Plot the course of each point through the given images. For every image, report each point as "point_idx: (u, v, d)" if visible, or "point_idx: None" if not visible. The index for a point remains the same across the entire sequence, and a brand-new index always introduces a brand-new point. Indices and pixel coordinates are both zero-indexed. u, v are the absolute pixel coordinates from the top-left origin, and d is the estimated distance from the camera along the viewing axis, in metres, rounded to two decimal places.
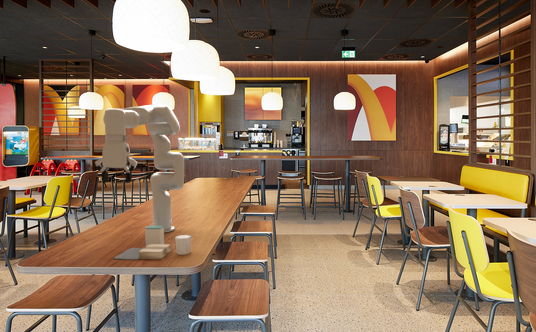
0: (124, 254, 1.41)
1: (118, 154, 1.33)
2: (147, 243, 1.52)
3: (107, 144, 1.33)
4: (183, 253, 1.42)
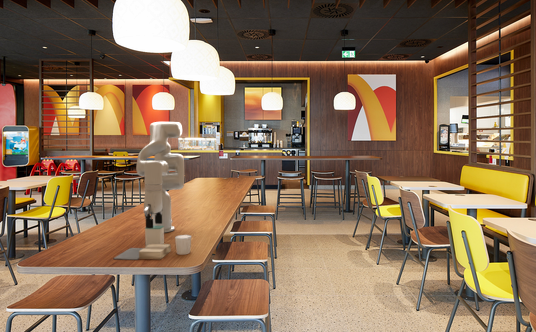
0: (124, 254, 1.41)
1: (160, 200, 1.55)
2: (147, 243, 1.52)
3: (156, 192, 1.50)
4: (183, 253, 1.42)
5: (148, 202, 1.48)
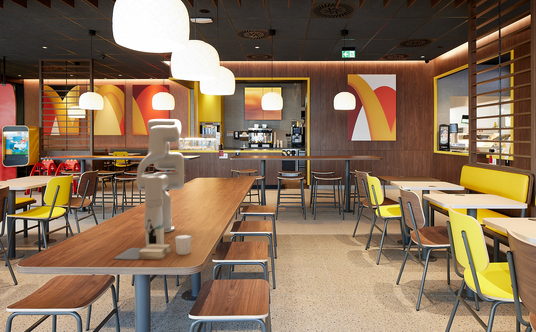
0: (124, 254, 1.41)
1: (161, 214, 1.56)
2: (147, 243, 1.52)
3: (157, 207, 1.51)
4: (183, 253, 1.42)
5: (148, 217, 1.49)
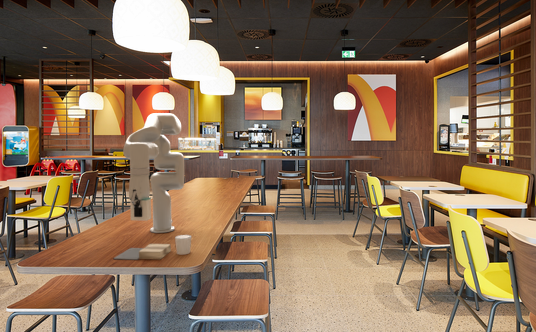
0: (124, 254, 1.41)
1: (148, 185, 1.43)
2: (132, 216, 1.40)
3: (143, 177, 1.38)
4: (183, 253, 1.42)
5: (133, 187, 1.36)
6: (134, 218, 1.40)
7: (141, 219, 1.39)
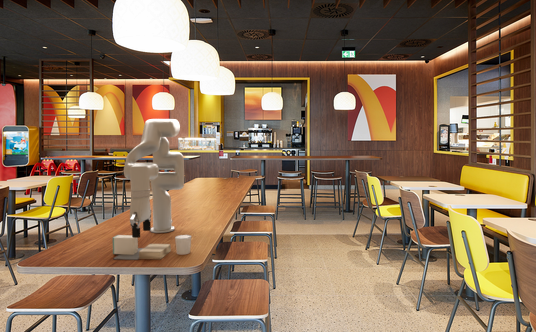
0: (124, 254, 1.41)
1: (148, 206, 1.44)
2: (129, 252, 1.41)
3: (143, 199, 1.39)
4: (183, 253, 1.42)
5: (134, 210, 1.37)
6: (131, 250, 1.41)
7: (132, 243, 1.41)
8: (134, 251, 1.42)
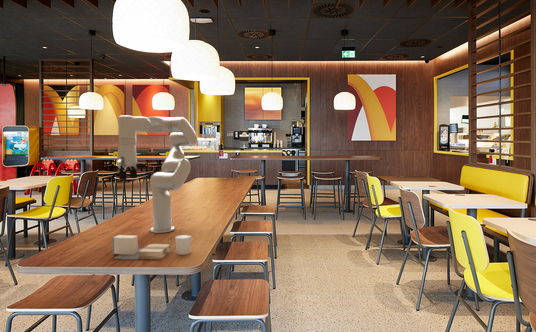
0: (124, 254, 1.41)
1: (135, 154, 1.59)
2: (129, 252, 1.41)
3: (130, 146, 1.54)
4: (183, 253, 1.42)
5: (121, 155, 1.52)
6: (131, 250, 1.41)
7: (132, 243, 1.41)
8: (134, 251, 1.42)
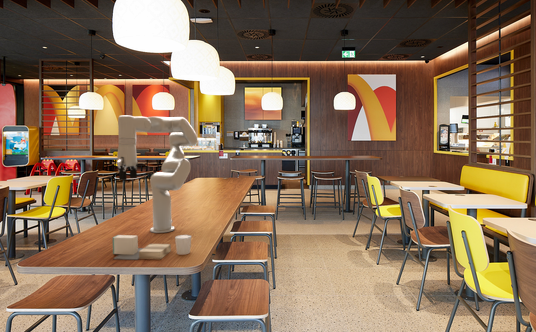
0: (124, 254, 1.41)
1: (135, 154, 1.59)
2: (129, 252, 1.41)
3: (130, 146, 1.54)
4: (183, 253, 1.42)
5: (121, 155, 1.52)
6: (131, 250, 1.41)
7: (132, 243, 1.41)
8: (134, 251, 1.42)
